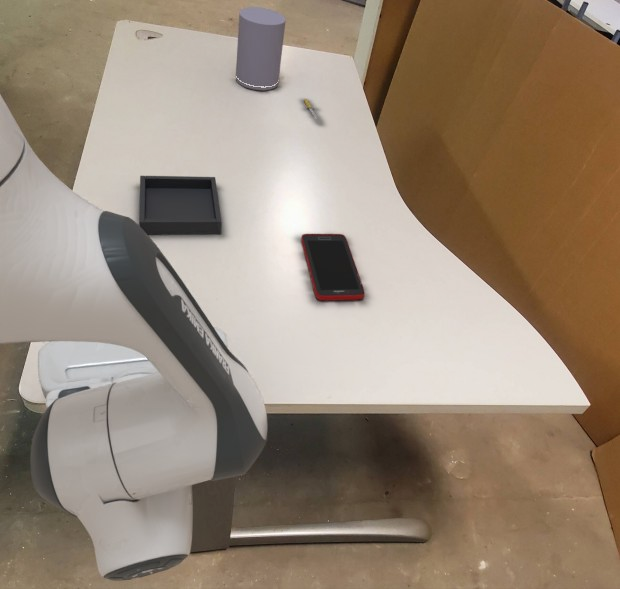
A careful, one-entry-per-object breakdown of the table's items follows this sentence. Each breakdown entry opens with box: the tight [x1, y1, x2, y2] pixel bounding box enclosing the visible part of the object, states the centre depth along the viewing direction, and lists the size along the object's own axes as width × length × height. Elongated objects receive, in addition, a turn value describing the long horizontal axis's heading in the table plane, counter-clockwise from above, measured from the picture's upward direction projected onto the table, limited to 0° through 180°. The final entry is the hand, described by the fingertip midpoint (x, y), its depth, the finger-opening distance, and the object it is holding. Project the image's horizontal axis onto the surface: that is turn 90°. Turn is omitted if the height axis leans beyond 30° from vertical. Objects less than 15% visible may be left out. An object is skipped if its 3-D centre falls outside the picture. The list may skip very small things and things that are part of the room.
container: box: [235, 6, 287, 92], centre depth 122 cm, size 10×10×15 cm
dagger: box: [303, 98, 318, 121], centre depth 120 cm, size 11×1×2 cm
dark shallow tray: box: [138, 175, 223, 236], centre depth 87 cm, size 13×13×3 cm
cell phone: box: [300, 233, 366, 301], centre depth 84 cm, size 8×15×1 cm, turn 10°
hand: (136, 312), depth 64 cm, fingers open, 8 cm apart
